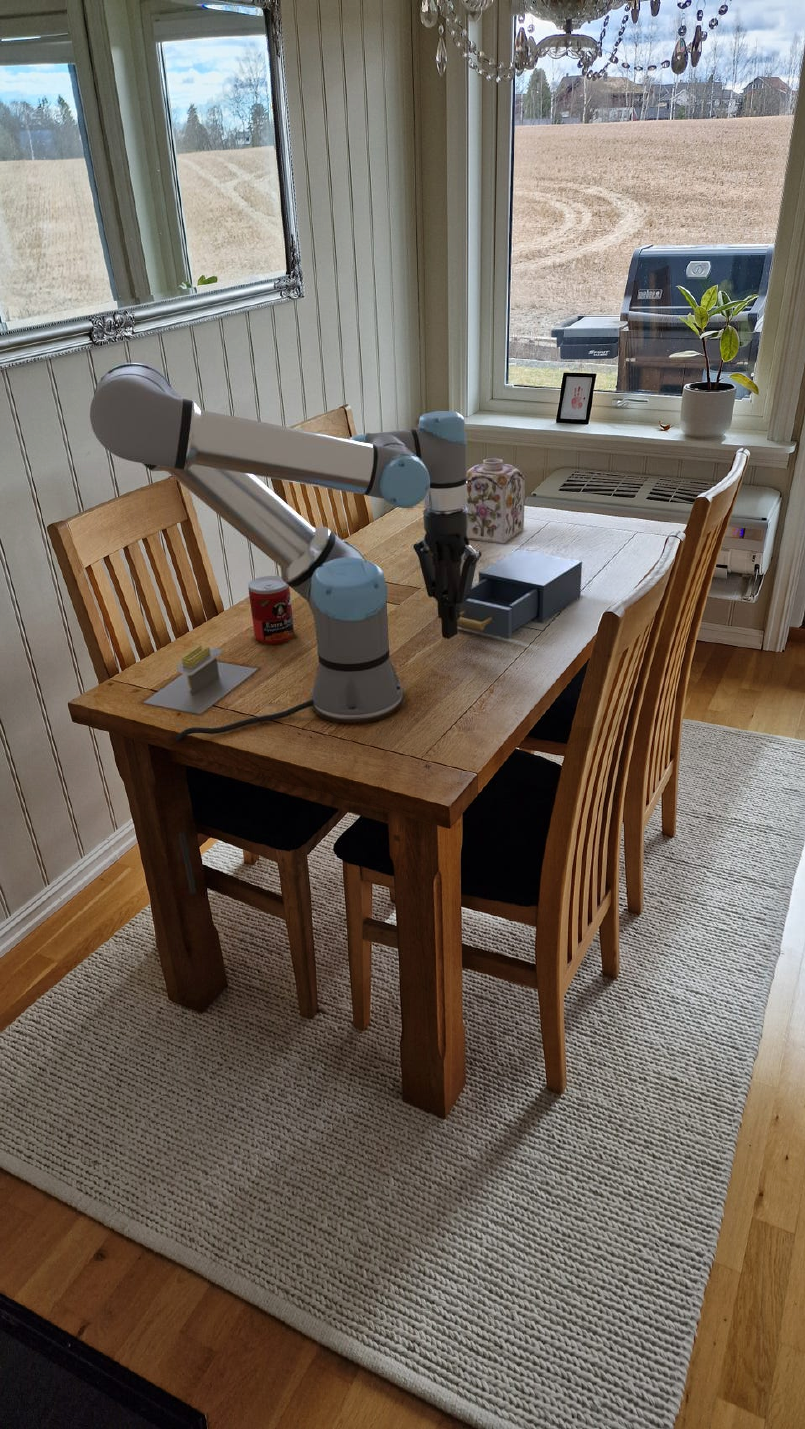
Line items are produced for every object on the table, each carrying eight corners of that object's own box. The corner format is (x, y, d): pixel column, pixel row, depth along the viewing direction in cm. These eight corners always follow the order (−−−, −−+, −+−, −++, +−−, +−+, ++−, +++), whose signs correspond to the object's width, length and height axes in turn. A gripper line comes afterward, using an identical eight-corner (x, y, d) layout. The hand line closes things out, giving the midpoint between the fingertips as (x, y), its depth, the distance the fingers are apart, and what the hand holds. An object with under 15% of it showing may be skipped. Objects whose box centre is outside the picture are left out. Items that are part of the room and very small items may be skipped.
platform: (142, 702, 165) (135, 668, 162) (203, 659, 179) (198, 626, 176) (200, 714, 160) (194, 678, 157) (258, 668, 175) (253, 635, 171)
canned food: (266, 648, 182) (259, 593, 177) (247, 634, 188) (240, 581, 183) (301, 637, 186) (296, 584, 180) (282, 625, 192) (276, 572, 186)
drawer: (495, 648, 176) (495, 618, 173) (435, 632, 183) (434, 604, 180) (547, 613, 189) (547, 585, 186) (488, 599, 196) (488, 572, 193)
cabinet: (542, 622, 187) (543, 585, 183) (479, 607, 195) (478, 572, 191) (580, 596, 198) (582, 561, 194) (518, 583, 206) (519, 549, 202)
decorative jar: (460, 538, 233) (459, 463, 225) (481, 524, 242) (481, 452, 233) (505, 544, 228) (506, 468, 219) (525, 530, 236) (527, 456, 228)
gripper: (490, 506, 162) (491, 635, 173) (427, 496, 169) (432, 621, 180) (465, 519, 157) (468, 651, 168) (401, 508, 164) (408, 635, 175)
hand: (449, 635), depth 174 cm, fingers closed
